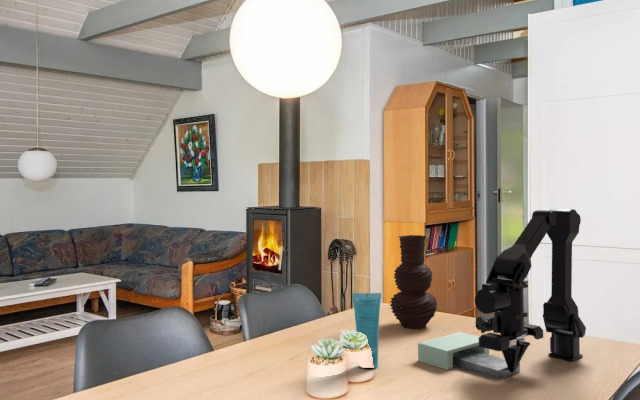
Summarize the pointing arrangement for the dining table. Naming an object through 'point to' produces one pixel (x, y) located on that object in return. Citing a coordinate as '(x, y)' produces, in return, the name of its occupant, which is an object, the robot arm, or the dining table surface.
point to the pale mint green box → (447, 349)
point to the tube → (368, 319)
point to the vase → (413, 285)
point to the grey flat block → (482, 363)
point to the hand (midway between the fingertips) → (512, 371)
